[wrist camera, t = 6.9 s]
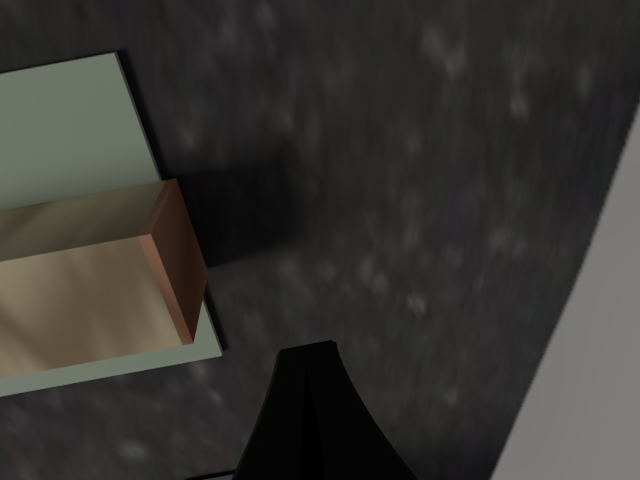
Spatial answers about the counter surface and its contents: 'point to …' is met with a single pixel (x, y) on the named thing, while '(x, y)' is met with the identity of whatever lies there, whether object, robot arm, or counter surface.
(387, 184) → the counter surface
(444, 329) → the counter surface
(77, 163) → the mat
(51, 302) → the maple block
